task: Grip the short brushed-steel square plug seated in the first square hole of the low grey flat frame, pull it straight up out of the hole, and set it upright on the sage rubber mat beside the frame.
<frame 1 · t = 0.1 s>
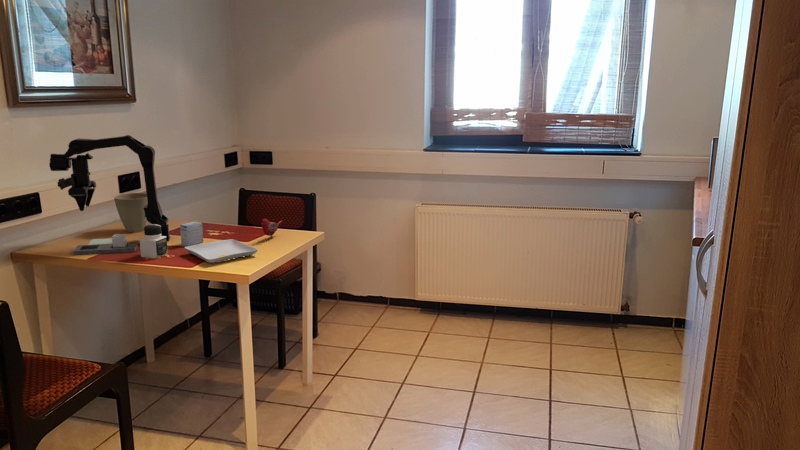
hand: (84, 208, 240), 15 cm above the table, fingers open, 9 cm apart
sage mat: (107, 242, 244), on the table
salad plate: (221, 256, 231), on the table
plant pot: (135, 231, 265), on the table
medicine bottle: (154, 255, 229), on the table
medicine box: (192, 244, 246), on the table
grey flat frame: (106, 250, 234), on the table
decorative bird figurine: (272, 238, 258), on the table
steel peg: (120, 249, 235), resting in grey flat frame
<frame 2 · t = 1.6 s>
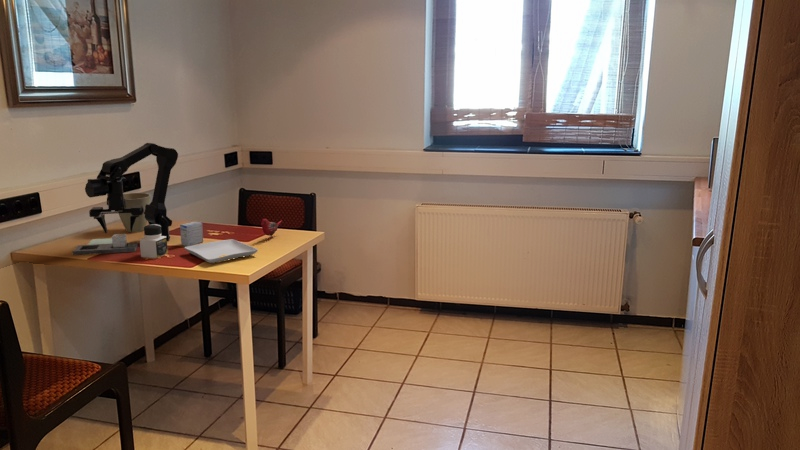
hand: (119, 232, 234), 7 cm above the table, fingers open, 9 cm apart
nothing on the table moved.
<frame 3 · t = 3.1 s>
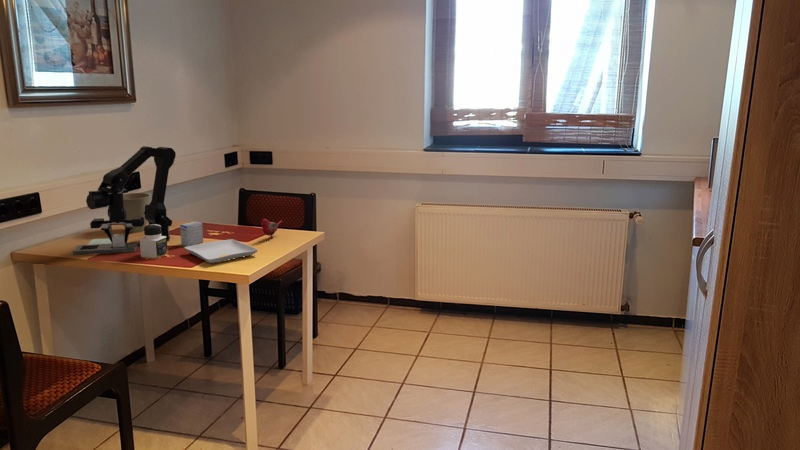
hand: (119, 243, 235), 3 cm above the table, fingers closed on steel peg, 4 cm apart
steel peg: (120, 249, 235), resting in grey flat frame, touching gripper
everything else where it was.
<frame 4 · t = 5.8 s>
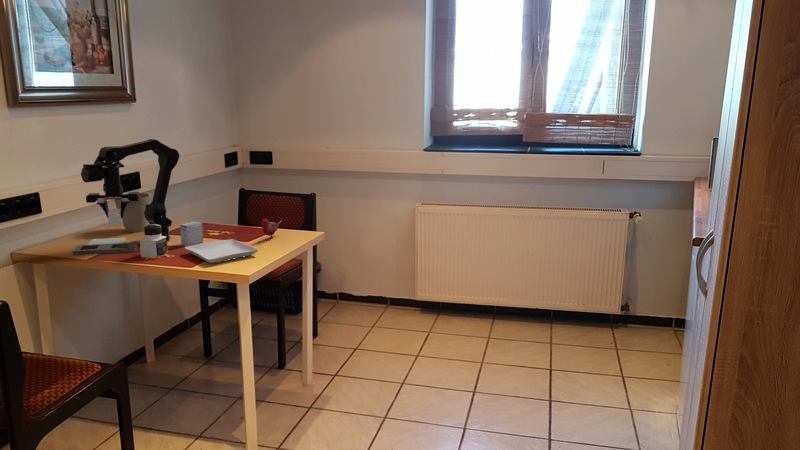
hand: (115, 218, 233), 12 cm above the table, fingers closed on steel peg, 4 cm apart
steel peg: (116, 224, 234), point 10 cm above the table, touching gripper
everything else where it was.
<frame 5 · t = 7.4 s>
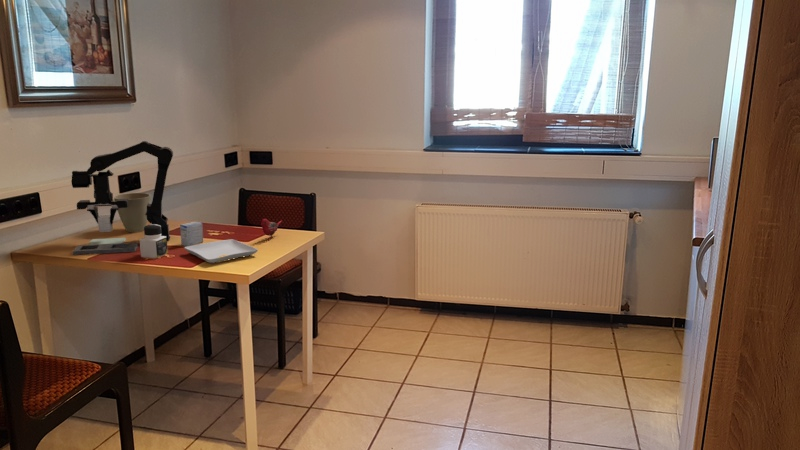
hand: (105, 224, 243), 8 cm above the table, fingers closed on steel peg, 4 cm apart
steel peg: (106, 230, 243), point 5 cm above the table, touching gripper
everything else where it was.
when the fingers open (4 cm above the table, at t = 8.8 s): steel peg stays where it is, resting on sage mat.
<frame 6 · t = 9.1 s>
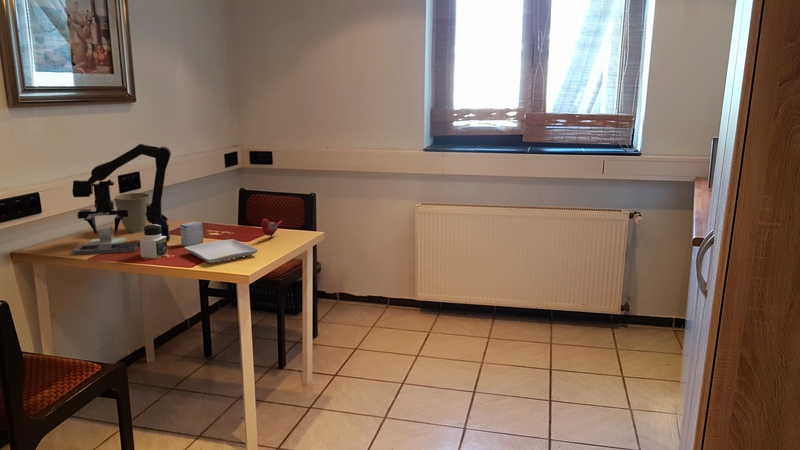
hand: (106, 233, 244), 4 cm above the table, fingers open, 7 cm apart
steel peg: (106, 241, 244), point 1 cm above the table, touching sage mat
everything else where it was.
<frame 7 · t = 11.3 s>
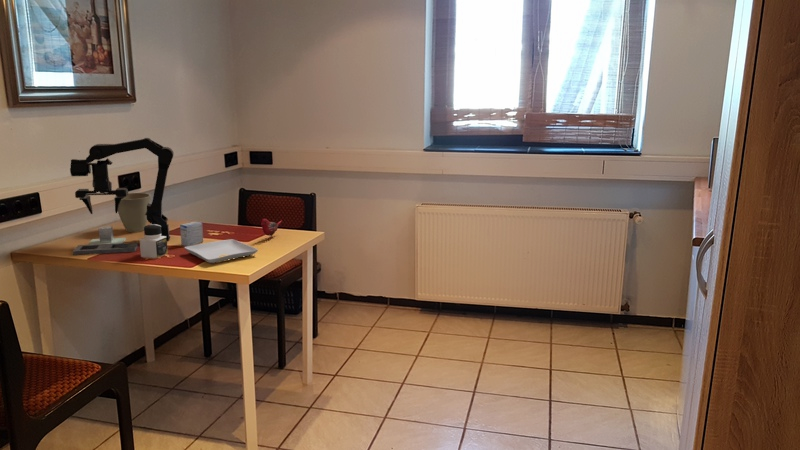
hand: (104, 213, 242), 12 cm above the table, fingers open, 9 cm apart
nothing on the table moved.
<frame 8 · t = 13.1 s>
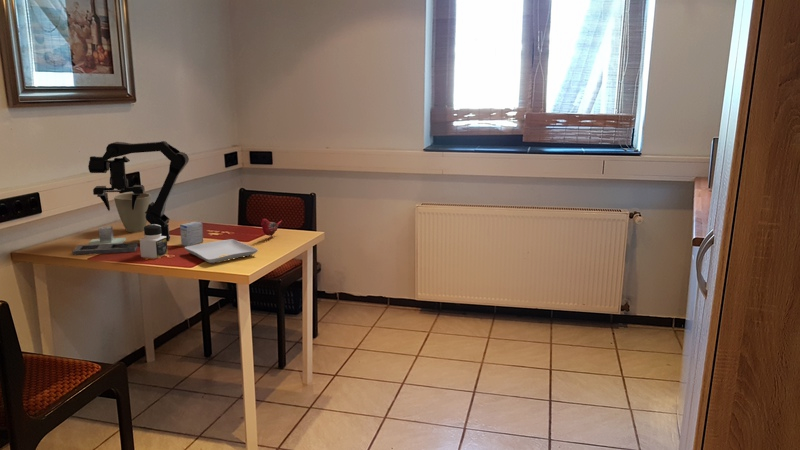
hand: (121, 210, 246), 13 cm above the table, fingers open, 9 cm apart
nothing on the table moved.
at the end: steel peg inside the target area on the sage mat (0.1 cm from its centre), point 0.6 cm above the sage mat's base; steel peg tilted 0°; the gripper is holding nothing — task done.
